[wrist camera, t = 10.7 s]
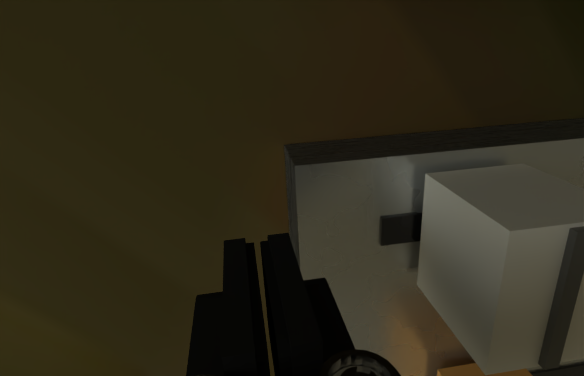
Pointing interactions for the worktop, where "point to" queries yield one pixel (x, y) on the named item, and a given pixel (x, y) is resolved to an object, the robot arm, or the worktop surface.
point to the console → (402, 226)
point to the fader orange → (477, 371)
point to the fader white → (506, 264)
